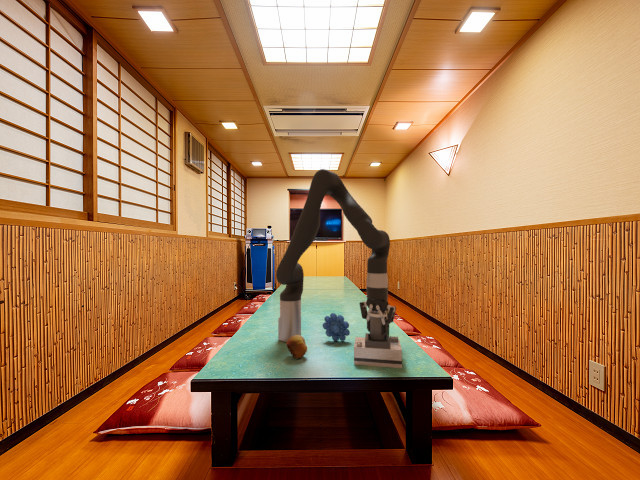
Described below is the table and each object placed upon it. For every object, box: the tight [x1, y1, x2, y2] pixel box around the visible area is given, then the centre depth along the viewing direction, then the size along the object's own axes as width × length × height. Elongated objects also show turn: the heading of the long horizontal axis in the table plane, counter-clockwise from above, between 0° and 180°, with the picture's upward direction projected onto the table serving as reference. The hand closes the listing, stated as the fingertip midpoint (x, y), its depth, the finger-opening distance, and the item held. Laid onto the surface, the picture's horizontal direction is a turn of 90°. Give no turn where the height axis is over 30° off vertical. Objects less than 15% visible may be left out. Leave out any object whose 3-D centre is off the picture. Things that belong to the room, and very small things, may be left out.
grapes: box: [322, 312, 351, 342], centre depth 122 cm, size 12×7×12 cm, turn 84°
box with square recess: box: [353, 332, 403, 369], centre depth 104 cm, size 16×11×8 cm
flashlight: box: [369, 311, 385, 341], centre depth 104 cm, size 5×5×11 cm
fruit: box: [285, 335, 308, 360], centre depth 106 cm, size 8×8×8 cm
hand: (377, 332), depth 104 cm, fingers closed on flashlight, 5 cm apart
